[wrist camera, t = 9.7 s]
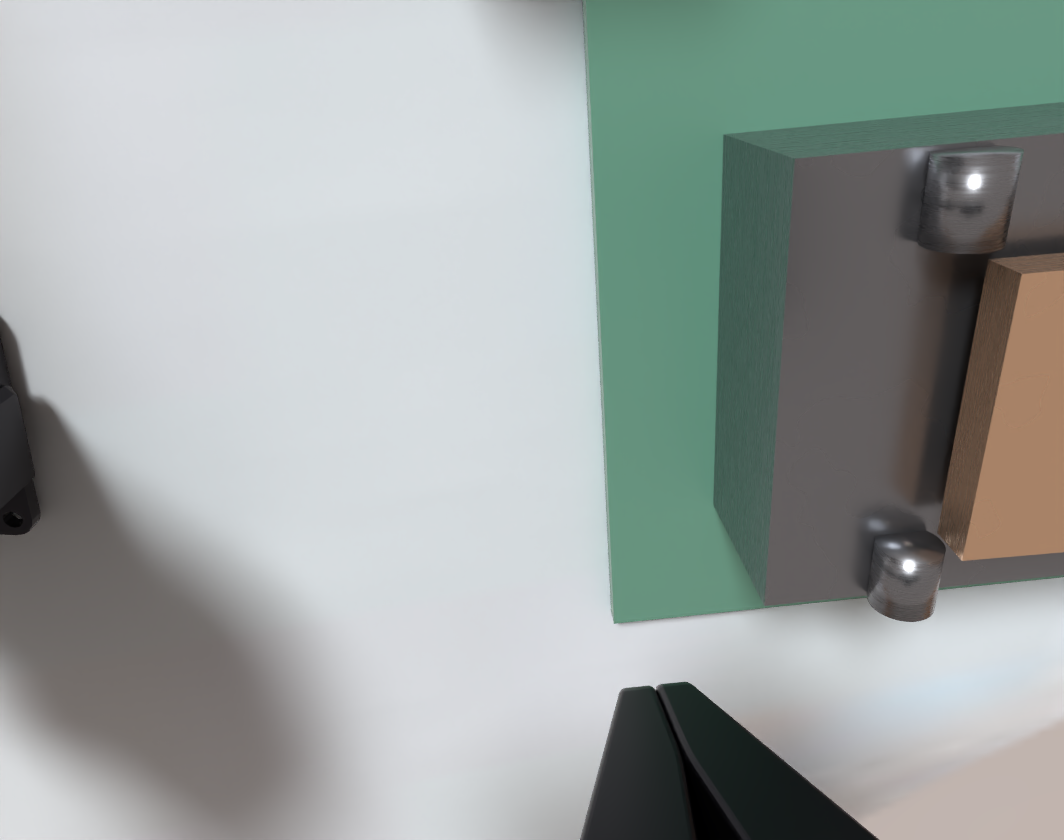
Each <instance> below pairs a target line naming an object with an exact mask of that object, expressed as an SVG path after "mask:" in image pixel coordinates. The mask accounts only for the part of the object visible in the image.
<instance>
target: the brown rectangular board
mask: <svg viewBox="0 0 1064 840" xmlns="http://www.w3.org/2000/svg"><path fill="white" fill-rule="evenodd" d="M937 533H938V534H939V536H940V537H941V538H942V539H943V540H944V541H945V542H946V543H947V545H948V546H949V547H950V548H951V549H952V550H953V551H954V552H955V554H956V555H957V556H958V557H959V558H960V559H961V560H962V561H967V560H979V559H990V558H1002V557H1014V556H1026V555H1037V554H1049V553H1061V552H1064V253H1054V254H1043V255H1031V256H1020V257H1009V258H998V259H988V263H987V268H986V274H985V279H984V284H983V290H982V295H981V300H980V306H979V311H978V316H977V322H976V327H975V332H974V338H973V343H972V349H971V354H970V359H969V365H968V370H967V375H966V381H965V386H964V391H963V397H962V402H961V407H960V413H959V418H958V423H957V429H956V434H955V439H954V445H953V450H952V456H951V461H950V466H949V472H948V477H947V482H946V488H945V493H944V498H943V504H942V509H941V514H940V520H939V525H938V530H937Z"/></svg>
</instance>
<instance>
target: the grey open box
mask: <svg viewBox="0 0 1064 840" xmlns="http://www.w3.org/2000/svg"><path fill="white" fill-rule="evenodd" d="M1054 253H1064V102H1058V103H1047V104H1037V105H1026V106H1016V107H1005V108H995V109H984V110H974V111H963V112H953V113H942V114H932V115H921V116H911V117H900V118H889V119H879V120H868V121H858V122H847V123H837V124H826V125H816V126H805V127H795V128H784V129H774V130H763V131H753V132H742V133H731V134H723V167H722V203H721V239H720V276H719V312H718V348H717V385H716V421H715V457H714V494H713V505H714V507H715V509H716V511H717V513H718V515H719V517H720V519H721V521H722V523H723V525H724V527H725V529H726V531H727V533H728V535H729V537H730V539H731V541H732V543H733V545H734V547H735V549H736V551H737V553H738V555H739V557H740V559H741V561H742V563H743V565H744V567H745V569H746V571H747V573H748V575H749V577H750V579H751V581H752V583H753V585H754V587H755V589H756V591H757V592H758V594H759V596H760V598H761V600H762V602H763V604H764V606H770V605H780V604H790V603H799V602H809V601H819V600H828V599H838V598H847V597H857V596H867V599H868V601H869V603H870V605H871V606H872V607H873V608H874V609H875V610H876V611H878V612H879V613H881V614H883V615H885V616H887V617H889V618H892V619H895V620H899V621H906V622H916V621H921V620H924V619H927V618H928V617H930V616H931V615H932V614H933V612H934V608H935V603H936V598H937V593H938V588H944V587H954V586H963V585H973V584H983V583H992V582H1002V581H1012V580H1021V579H1031V578H1040V577H1050V576H1060V575H1064V552H1061V553H1049V554H1037V555H1026V556H1014V557H1002V558H990V559H979V560H967V561H962V560H961V559H960V558H959V557H958V556H957V555H956V554H955V552H954V551H953V550H952V549H951V548H950V547H949V546H948V545H947V543H946V542H945V541H944V540H943V539H942V538H941V537H940V536H939V534H938V533H937V530H938V525H939V520H940V514H941V509H942V504H943V498H944V493H945V488H946V482H947V477H948V472H949V466H950V461H951V456H952V450H953V445H954V439H955V434H956V429H957V423H958V418H959V413H960V407H961V402H962V397H963V391H964V386H965V381H966V375H967V370H968V365H969V359H970V354H971V349H972V343H973V338H974V332H975V327H976V322H977V316H978V311H979V306H980V300H981V295H982V290H983V284H984V279H985V274H986V268H987V263H988V259H998V258H1009V257H1020V256H1031V255H1043V254H1054Z"/></svg>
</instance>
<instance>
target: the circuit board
mask: <svg viewBox="0 0 1064 840" xmlns="http://www.w3.org/2000/svg"><path fill="white" fill-rule="evenodd" d="M582 1H583V23H584V44H585V65H586V86H587V108H588V129H589V150H590V172H591V193H592V214H593V235H594V257H595V278H596V299H597V321H598V342H599V363H600V385H601V406H602V427H603V448H604V470H605V491H606V512H607V534H608V555H609V576H610V597H611V612H612V617H613V621H614V624H615V623H624V622H634V621H644V620H653V619H663V618H673V617H682V616H692V615H702V614H711V613H721V612H731V611H740V610H750V609H760V608H769V607H779V606H788V605H798V604H808V603H817V602H827V601H837V600H846V599H856V598H866V597H867V596H857V597H847V598H838V599H828V600H819V601H809V602H799V603H790V604H780V605H770V606H764V604H763V602H762V600H761V598H760V596H759V594H758V592H757V591H756V589H755V587H754V585H753V583H752V581H751V579H750V577H749V575H748V573H747V571H746V569H745V567H744V565H743V563H742V561H741V559H740V557H739V555H738V553H737V551H736V549H735V547H734V545H733V543H732V541H731V539H730V537H729V535H728V533H727V531H726V529H725V527H724V525H723V523H722V521H721V519H720V517H719V515H718V513H717V511H716V509H715V507H714V505H713V494H714V457H715V421H716V385H717V348H718V312H719V276H720V239H721V203H722V167H723V134H731V133H742V132H753V131H763V130H774V129H784V128H795V127H805V126H816V125H826V124H837V123H847V122H858V121H868V120H879V119H889V118H900V117H911V116H921V115H932V114H942V113H953V112H963V111H974V110H984V109H995V108H1005V107H1016V106H1026V105H1037V104H1047V103H1058V102H1064V0H582ZM1059 577H1064V575H1060V576H1050V577H1040V578H1031V579H1021V580H1012V581H1002V582H992V583H983V584H973V585H963V586H954V587H944V588H938V590H943V589H952V588H962V587H972V586H981V585H991V584H1001V583H1010V582H1020V581H1030V580H1039V579H1049V578H1059Z"/></svg>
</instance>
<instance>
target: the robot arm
mask: <svg viewBox="0 0 1064 840" xmlns="http://www.w3.org/2000/svg"><path fill="white" fill-rule="evenodd" d="M34 476H35V472H34V467H33V463H32V458H31V454H30V449H29V445H28V440H27V436H26V432H25V427H24V423H23V418H22V414H21V409H20V405H19V400H18V396H17V394H16V393H15V392H14V390H13V389H12V387H11V383H10V378H9V374H8V369H7V365H6V361H5V356H4V352H3V347H2V343H1V339H0V534H5V535H21V534H25V533H27V532H28V531H30V530H31V529H32V528H33V527H34V526H35V524H36V523H37V522H38V520H39V519H40V510H39V506H38V501H37V497H36V493H35V488H34V484H33V478H34ZM12 512H14V513H17V514H18V515H20V516H21V518H22V519H19V518H17V517H15V516H14V515H13V514H12ZM580 840H879V839H878V838H876V837H875V836H874V835H873V834H872V833H870V832H869V831H868V830H867V829H866V828H864V827H863V826H862V825H861V824H860V823H858V822H857V821H856V820H855V819H854V818H852V817H851V816H850V815H849V814H848V813H846V812H845V811H844V810H843V809H842V808H840V807H839V806H838V805H837V804H835V803H834V802H833V801H832V800H831V799H829V798H828V797H827V796H826V795H825V794H823V793H822V792H821V791H820V790H819V789H817V788H816V787H815V786H814V785H813V784H811V783H810V782H809V781H808V780H807V779H805V778H804V777H803V776H802V775H800V774H799V773H798V772H797V771H796V770H794V769H793V768H792V767H791V766H790V765H788V764H787V763H786V762H785V761H784V760H782V759H781V758H780V757H779V756H778V755H776V754H775V753H774V752H773V751H772V750H770V749H769V748H768V747H767V746H766V745H764V744H763V743H762V742H761V741H759V740H758V739H757V738H756V737H755V736H753V735H752V734H751V733H750V732H749V731H747V730H746V729H745V728H744V727H743V726H741V725H740V724H739V723H738V722H737V721H735V720H734V719H733V718H732V717H731V716H729V715H728V714H727V713H726V712H724V711H723V710H722V709H721V708H720V707H718V706H717V705H716V704H715V703H714V702H712V701H711V700H710V699H709V698H708V697H706V696H705V695H704V694H703V693H702V692H700V691H699V690H698V689H697V688H696V687H694V686H693V685H692V684H690V683H688V682H678V683H668V684H660V685H658V686H657V687H656V689H654V688H653V687H651V686H641V687H632V688H624V689H622V690H621V691H620V693H619V696H618V700H617V704H616V707H615V711H614V715H613V718H612V722H611V726H610V730H609V733H608V737H607V741H606V745H605V748H604V752H603V756H602V759H601V763H600V767H599V771H598V774H597V778H596V782H595V786H594V789H593V793H592V797H591V801H590V804H589V808H588V812H587V815H586V819H585V823H584V827H583V830H582V834H581V838H580Z"/></svg>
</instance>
